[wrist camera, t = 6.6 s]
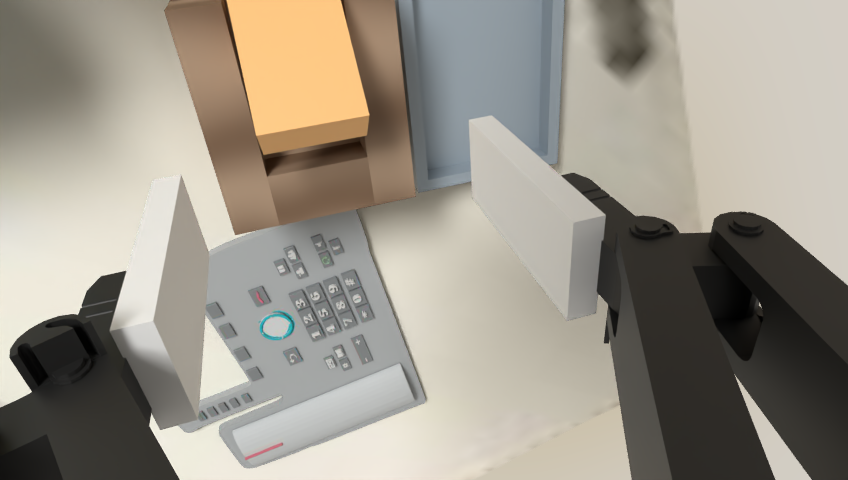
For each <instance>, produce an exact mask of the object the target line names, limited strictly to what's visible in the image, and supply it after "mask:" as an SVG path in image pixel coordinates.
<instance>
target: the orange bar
mask: <svg viewBox="0 0 848 480" xmlns="http://www.w3.org/2000/svg"><path fill="white" fill-rule="evenodd" d="M227 4H228V9H229V14H230V18H231V23H232V27H233V32H234V36H235V41H236V46H237V50H238V55H239V59H240V64H241V69H242V73H243V78H244V82H245V87H246V91H247V96H248V101H249V105H250V110H251V114H252V119H253V124H254V128H255V133H256V137H257V139H258V142H259V144H260V147H261V149H262V152H263V155H266V154H272V153H277V152H282V151H287V150H293V149H298V148H303V147H309V146H314V145H319V144H324V143H330V142H335V141H340V140H346V139H351V138H356V137H362V136H367V131H368V123H369V111H368V107H367V103H366V99H365V95H364V91H363V87H362V83H361V79H360V75H359V71H358V67H357V63H356V59H355V55H354V51H353V47H352V43H351V39H350V35H349V31H348V27H347V23H346V19H345V15H344V11H343V7H342V3H341V0H227Z"/></svg>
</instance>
